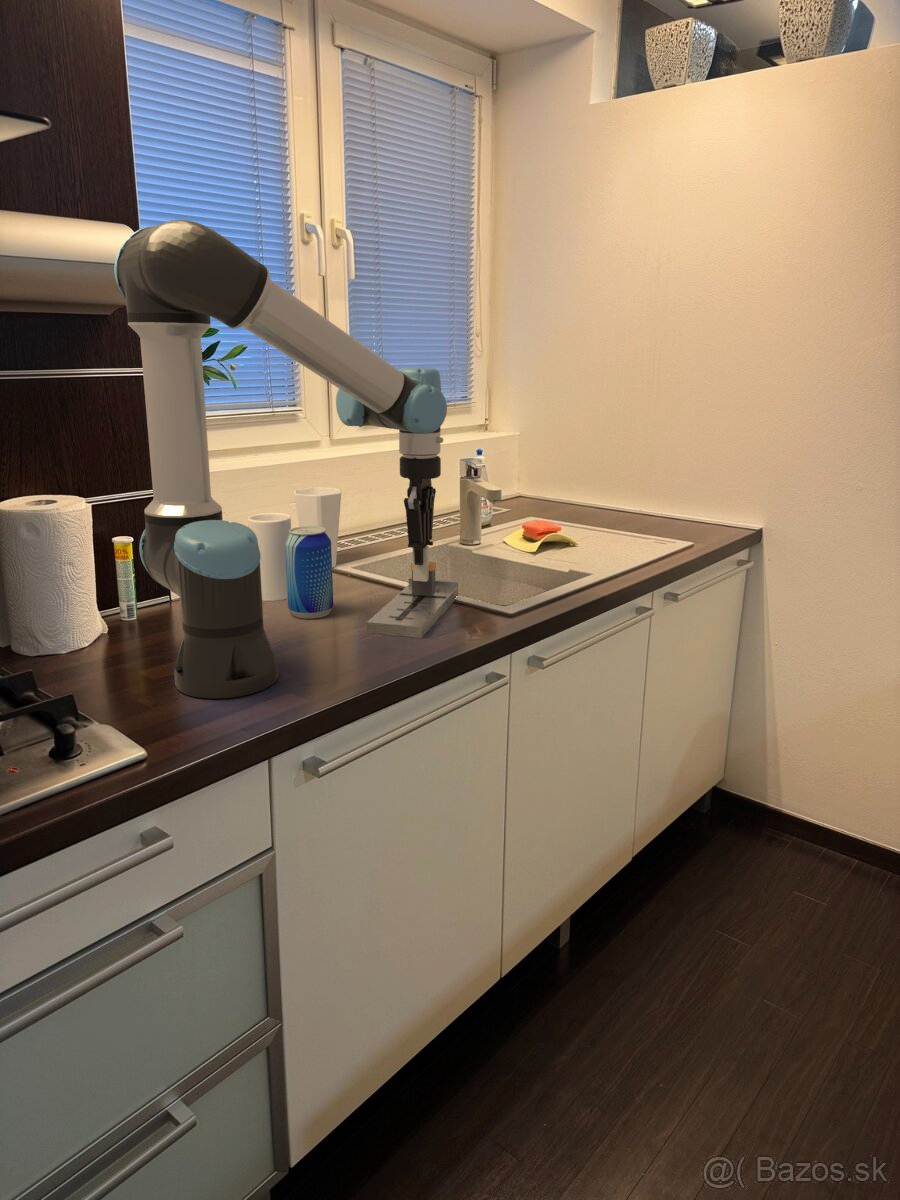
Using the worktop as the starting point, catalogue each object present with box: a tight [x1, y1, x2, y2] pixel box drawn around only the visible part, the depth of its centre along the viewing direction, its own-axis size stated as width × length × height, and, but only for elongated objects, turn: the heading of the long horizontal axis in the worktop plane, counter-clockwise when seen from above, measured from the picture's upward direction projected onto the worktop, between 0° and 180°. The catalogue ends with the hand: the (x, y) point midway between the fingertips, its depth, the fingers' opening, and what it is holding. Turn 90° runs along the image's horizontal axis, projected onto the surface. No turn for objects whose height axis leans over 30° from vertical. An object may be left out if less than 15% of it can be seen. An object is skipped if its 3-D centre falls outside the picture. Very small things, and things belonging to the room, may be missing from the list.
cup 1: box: [247, 512, 292, 602], centre depth 171 cm, size 8×8×16 cm
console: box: [366, 576, 459, 639], centre depth 162 cm, size 26×10×3 cm, turn 165°
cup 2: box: [293, 486, 342, 569], centre depth 193 cm, size 11×10×17 cm
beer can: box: [285, 526, 334, 620], centre depth 160 cm, size 8×8×16 cm
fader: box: [410, 560, 437, 596], centre depth 166 cm, size 3×4×6 cm, turn 75°
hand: (420, 579), depth 164 cm, fingers closed
